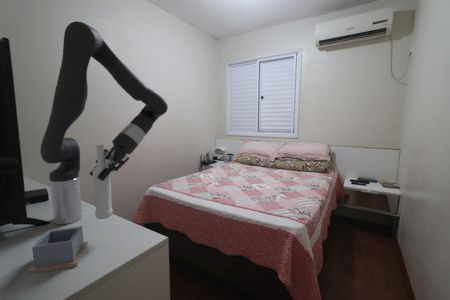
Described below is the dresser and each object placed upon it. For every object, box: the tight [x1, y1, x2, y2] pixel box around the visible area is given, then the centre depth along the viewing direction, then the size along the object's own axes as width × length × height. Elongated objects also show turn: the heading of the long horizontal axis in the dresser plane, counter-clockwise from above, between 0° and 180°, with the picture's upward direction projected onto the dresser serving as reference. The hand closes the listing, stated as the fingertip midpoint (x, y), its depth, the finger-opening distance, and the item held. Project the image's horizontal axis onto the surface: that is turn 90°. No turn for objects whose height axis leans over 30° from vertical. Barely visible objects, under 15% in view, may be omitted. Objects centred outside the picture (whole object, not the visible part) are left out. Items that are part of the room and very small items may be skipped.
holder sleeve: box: [27, 226, 89, 275], centre depth 62 cm, size 11×11×7 cm
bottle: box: [91, 143, 113, 220], centre depth 70 cm, size 5×5×25 cm
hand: (96, 177), depth 69 cm, fingers closed on bottle, 5 cm apart
